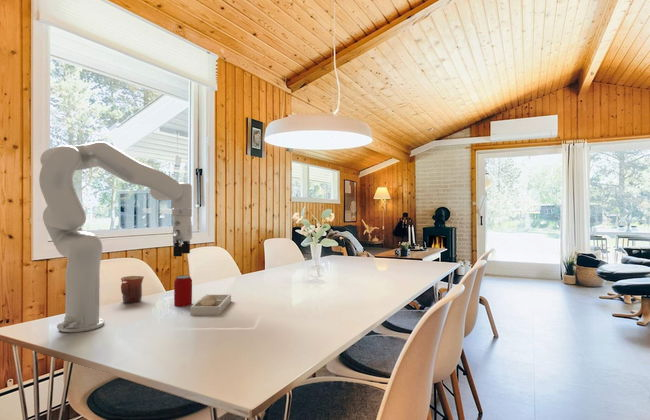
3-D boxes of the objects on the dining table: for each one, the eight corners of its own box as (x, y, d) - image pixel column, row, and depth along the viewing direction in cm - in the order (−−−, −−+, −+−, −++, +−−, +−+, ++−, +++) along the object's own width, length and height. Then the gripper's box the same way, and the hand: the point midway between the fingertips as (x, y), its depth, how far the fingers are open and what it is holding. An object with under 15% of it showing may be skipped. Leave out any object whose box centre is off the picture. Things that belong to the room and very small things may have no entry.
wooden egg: (214, 313, 140) (214, 297, 140) (198, 313, 140) (198, 297, 140) (218, 308, 146) (218, 293, 146) (203, 308, 146) (203, 293, 146)
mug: (127, 299, 164) (127, 275, 164) (147, 299, 163) (147, 275, 163) (111, 306, 152) (111, 280, 152) (132, 306, 151) (133, 280, 151)
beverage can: (194, 304, 155) (194, 275, 155) (187, 308, 149) (187, 278, 149) (179, 303, 156) (179, 275, 156) (170, 307, 149) (171, 277, 149)
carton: (219, 316, 138) (219, 306, 138) (190, 316, 138) (190, 307, 138) (231, 302, 158) (231, 294, 158) (205, 302, 158) (205, 294, 158)
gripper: (184, 213, 145) (184, 257, 145) (197, 212, 162) (197, 252, 162) (164, 213, 144) (164, 257, 145) (180, 212, 162) (179, 252, 162)
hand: (181, 254), depth 153 cm, fingers open, 9 cm apart
